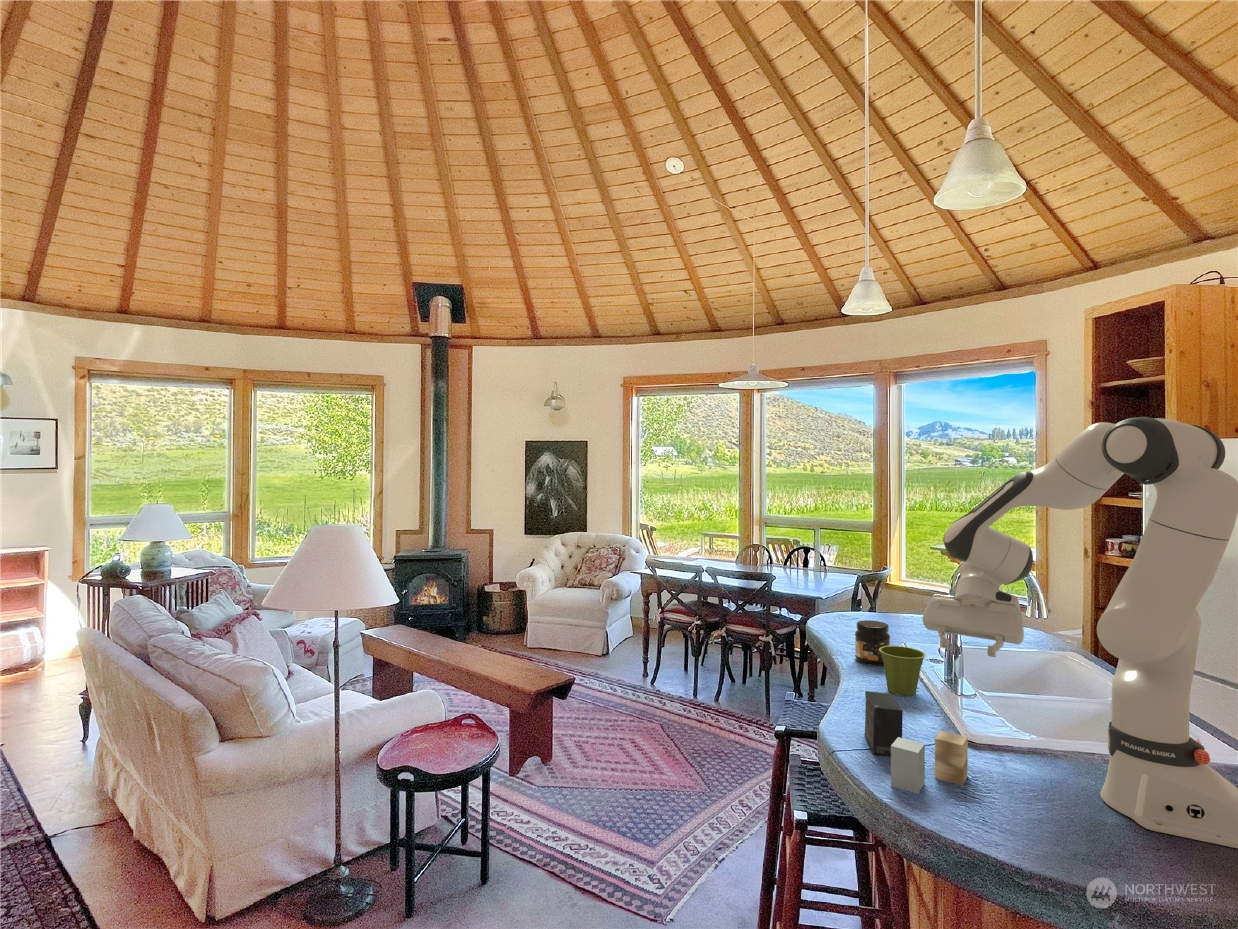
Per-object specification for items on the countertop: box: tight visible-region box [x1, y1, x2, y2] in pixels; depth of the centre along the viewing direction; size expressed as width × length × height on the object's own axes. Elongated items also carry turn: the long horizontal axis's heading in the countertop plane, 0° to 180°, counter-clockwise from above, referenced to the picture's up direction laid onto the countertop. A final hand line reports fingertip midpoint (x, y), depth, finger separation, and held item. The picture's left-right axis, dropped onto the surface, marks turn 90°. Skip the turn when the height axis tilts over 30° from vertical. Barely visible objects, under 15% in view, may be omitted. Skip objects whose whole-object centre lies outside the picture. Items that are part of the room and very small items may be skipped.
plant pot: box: [879, 645, 927, 697], centre depth 176 cm, size 12×12×11 cm
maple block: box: [934, 730, 969, 787], centre depth 129 cm, size 5×5×8 cm
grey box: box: [890, 737, 926, 795], centre depth 126 cm, size 5×5×8 cm
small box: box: [864, 690, 904, 757], centre depth 143 cm, size 11×6×10 cm, turn 168°
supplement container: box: [854, 619, 891, 666], centre depth 204 cm, size 10×10×12 cm
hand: (967, 651), depth 142 cm, fingers open, 8 cm apart
